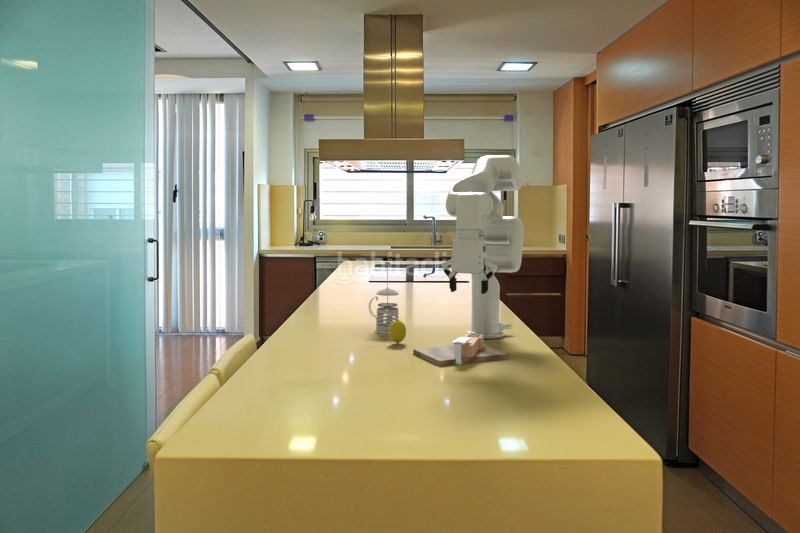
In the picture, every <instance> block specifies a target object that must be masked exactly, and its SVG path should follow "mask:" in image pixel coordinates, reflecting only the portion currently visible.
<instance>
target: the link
mask: <svg viewBox="0 0 800 533" xmlns="http://www.w3.org/2000/svg"><path fill="white" fill-rule="evenodd" d="M463 337H467V338H471V340H470V341H468V342H467V343H466V344H464V345H463V357H473V356H474V355H475V353H476V352H477V351H478V350H481V349H482V347H483V346H484V345H485V343H484V341H485V340H484V335H477V337H470V334H467V333H466V334H465V335H464V336H463Z"/></svg>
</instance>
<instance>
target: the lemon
mask: <svg viewBox="0 0 800 533" xmlns="http://www.w3.org/2000/svg"><path fill="white" fill-rule="evenodd" d="M393 321H394V322H392V324H391V325H390V328H389V334H388V335H389V338H390V339H391V340H392V342H394V343H395V344H396V345H398V344H399V343H401V342H402V341H404V340H405V338H406V336H407V328H406V325H405V323H404V322H403V321H402V320H400V319H399V318H398V319H397V320H396V321H395V320H393Z"/></svg>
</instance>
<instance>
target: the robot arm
mask: <svg viewBox="0 0 800 533" xmlns="http://www.w3.org/2000/svg"><path fill="white" fill-rule="evenodd" d="M521 168H522V167H521V166H520V163H519V162H518V160H517V159H516V158H515V157H514V156H513V155H484V156H481V157H480V158H477V160H476V162H475V164H474V166H473V168H472V171H471V174H470V175H468V176H466V177H464V178H462V179H459V180H458V181H456V182H454V184H452V186H451V187H450V188H449V191H448V194H447V197H446V199H445V209H446V212H447V214H448V215H449V216H450V217H454V218H455V220H456V222H455V223H456V224H455V225H456V226H455V228H456V230H455V232H456V233H455V238H456V239H454V240H453V245H452V250H451V258H450V259H448V260H446V261H444V262H442V263H440V266H441V268H442V270H443V272H444V275H446V276H447V278H448V279H449V290H450V292H451V293H454V292H456V291H457V285H458V284H457V280H458V278H457V277H456V276H457V275H458V274H469V275H470V274H471V327H470V330H467V331H466V334H470V332H476V333H477V335H484V339H485V340H487V339H489V340H490V339H491V340H492V339H499V338H503V337H504V335H505V333H504V332H503V331H505V330H511V329H512V323H511V322H510V323H503V322H500V303H501V302H500V300H501V299H500V295H501V294H500V292H501V286H500V285H501V284H500V283H499V281H498V279H497V278H496V276H495V273H516V272H518V271H519V270H520V268H521V266H522V258H523V245H524V223H523V221H522V220H521V218H519V217H517V216H511V215H509V216H507V215H505V216H504V210H505V209H504V208H505V207H504V204H503V202H502V201H501V199H500V198H499V197H498V196H497V195H496V194H495V193H494V192H514V191H515V192H516V191H519V190H520V189H521V187H522V186H523V183H524V174H523V171H522V169H521ZM449 265H451V266H450V267H451V268H450V269H451V270H450V269H449V267H448V266H449Z"/></svg>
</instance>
